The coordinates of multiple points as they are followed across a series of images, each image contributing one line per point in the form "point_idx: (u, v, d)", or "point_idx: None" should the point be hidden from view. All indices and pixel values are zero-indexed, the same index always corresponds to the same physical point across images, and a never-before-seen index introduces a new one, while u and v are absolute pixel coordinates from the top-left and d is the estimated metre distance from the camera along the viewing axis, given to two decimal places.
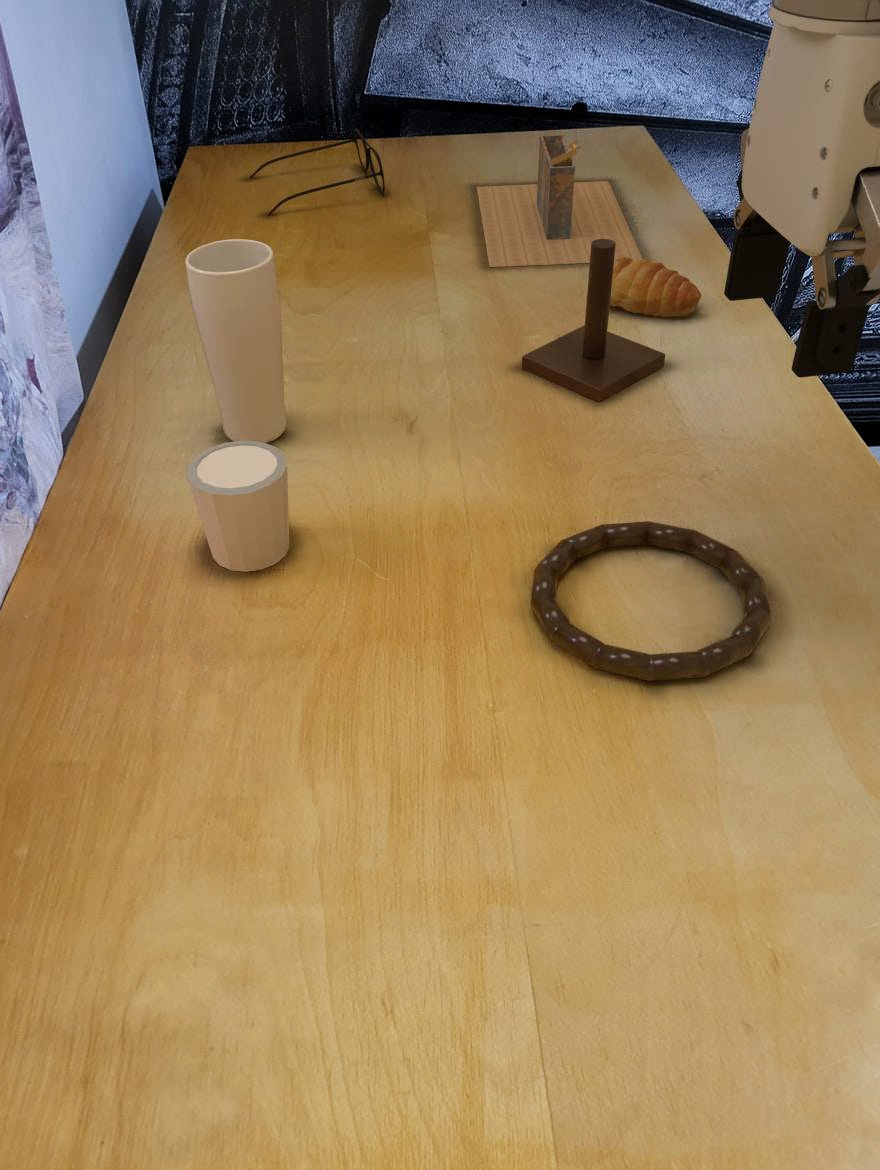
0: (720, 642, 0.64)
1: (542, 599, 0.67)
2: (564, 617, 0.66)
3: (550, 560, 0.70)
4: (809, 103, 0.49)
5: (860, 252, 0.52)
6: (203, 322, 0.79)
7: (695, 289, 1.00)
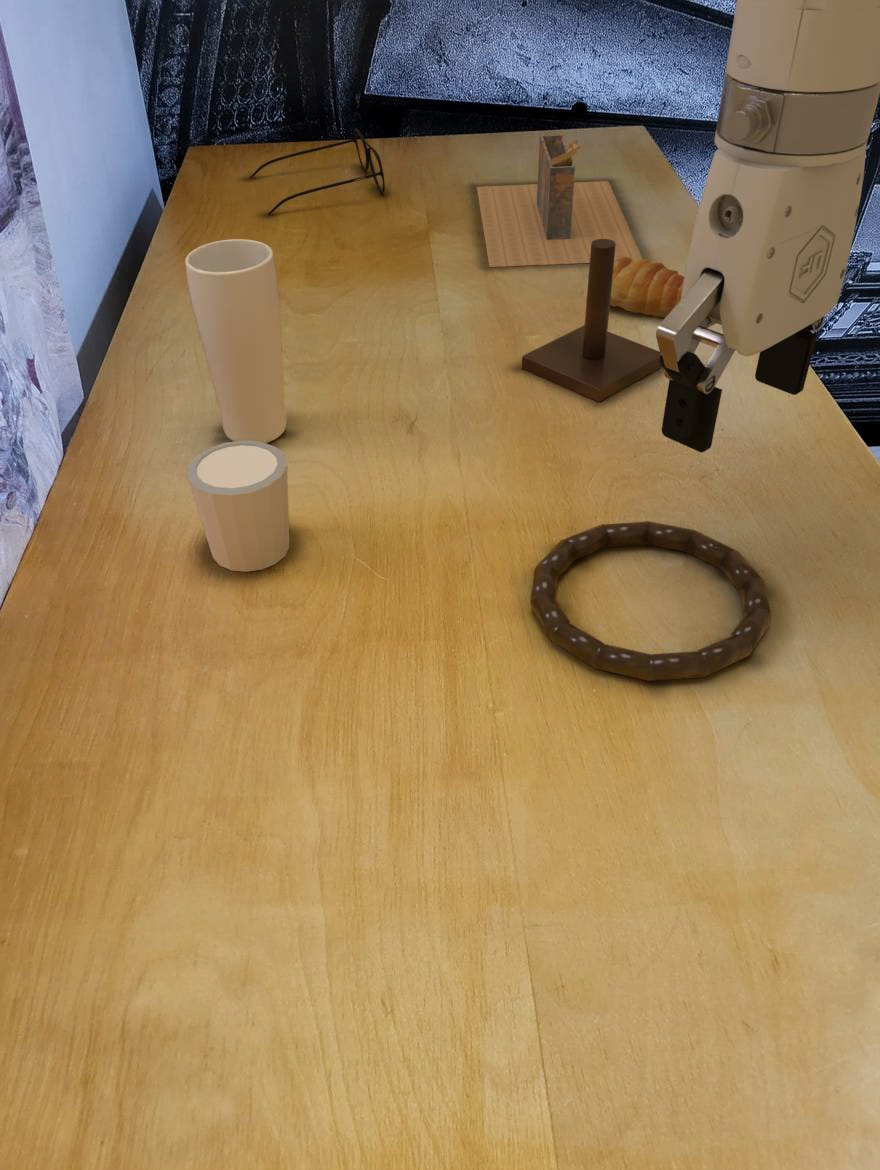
0: (720, 642, 0.64)
1: (542, 599, 0.67)
2: (564, 617, 0.66)
3: (550, 560, 0.70)
4: None
5: None
6: (203, 322, 0.79)
7: None
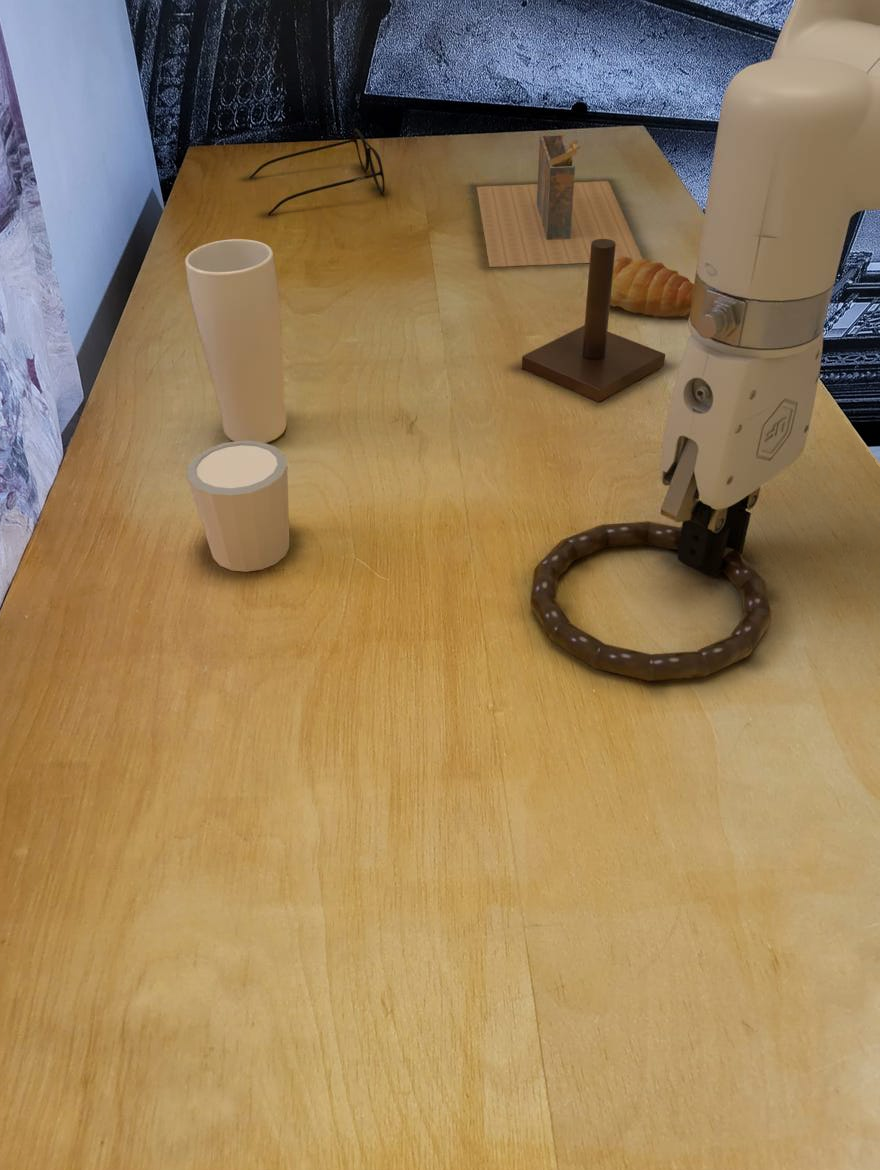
0: (720, 641, 0.64)
1: (542, 599, 0.67)
2: (564, 617, 0.66)
3: (550, 560, 0.70)
4: None
5: None
6: (203, 322, 0.79)
7: None
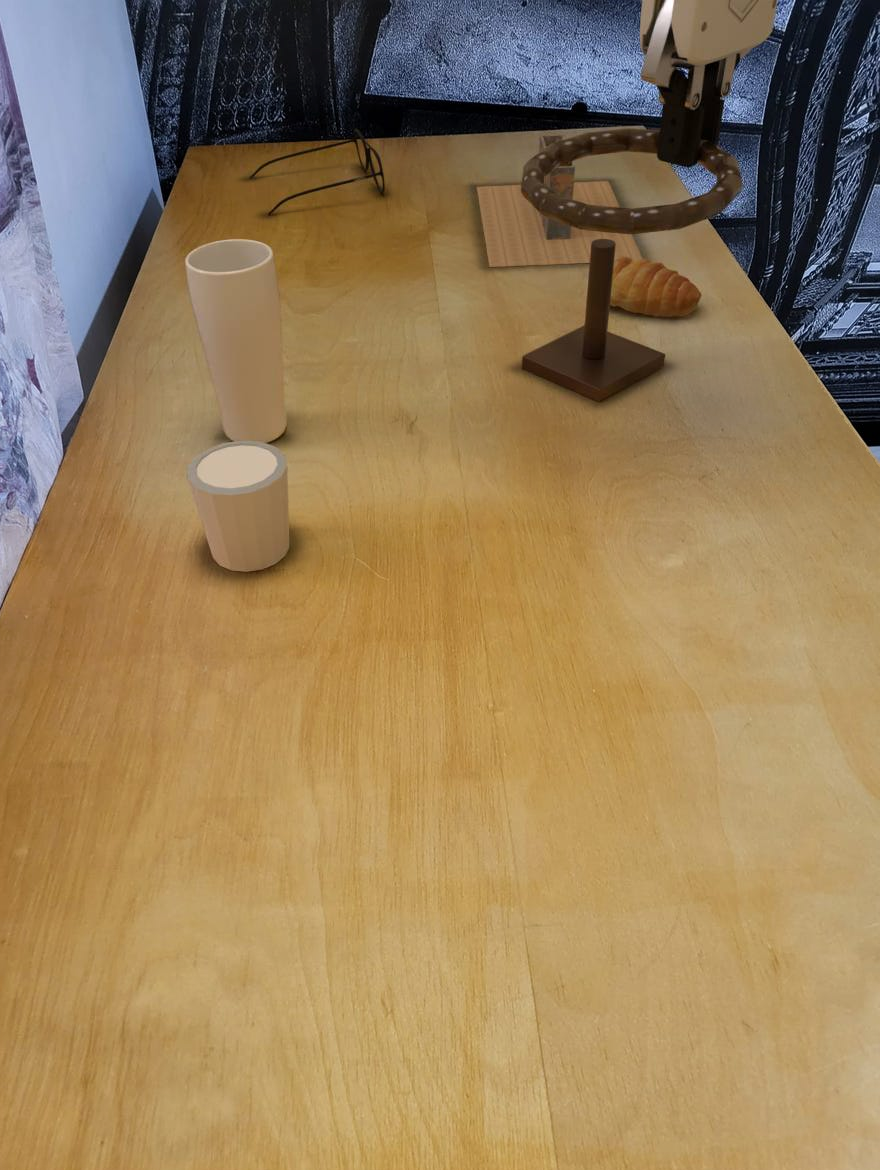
0: (695, 197, 0.69)
1: (531, 181, 0.73)
2: (552, 191, 0.72)
3: (538, 156, 0.76)
4: None
5: None
6: (203, 322, 0.79)
7: (695, 289, 1.00)
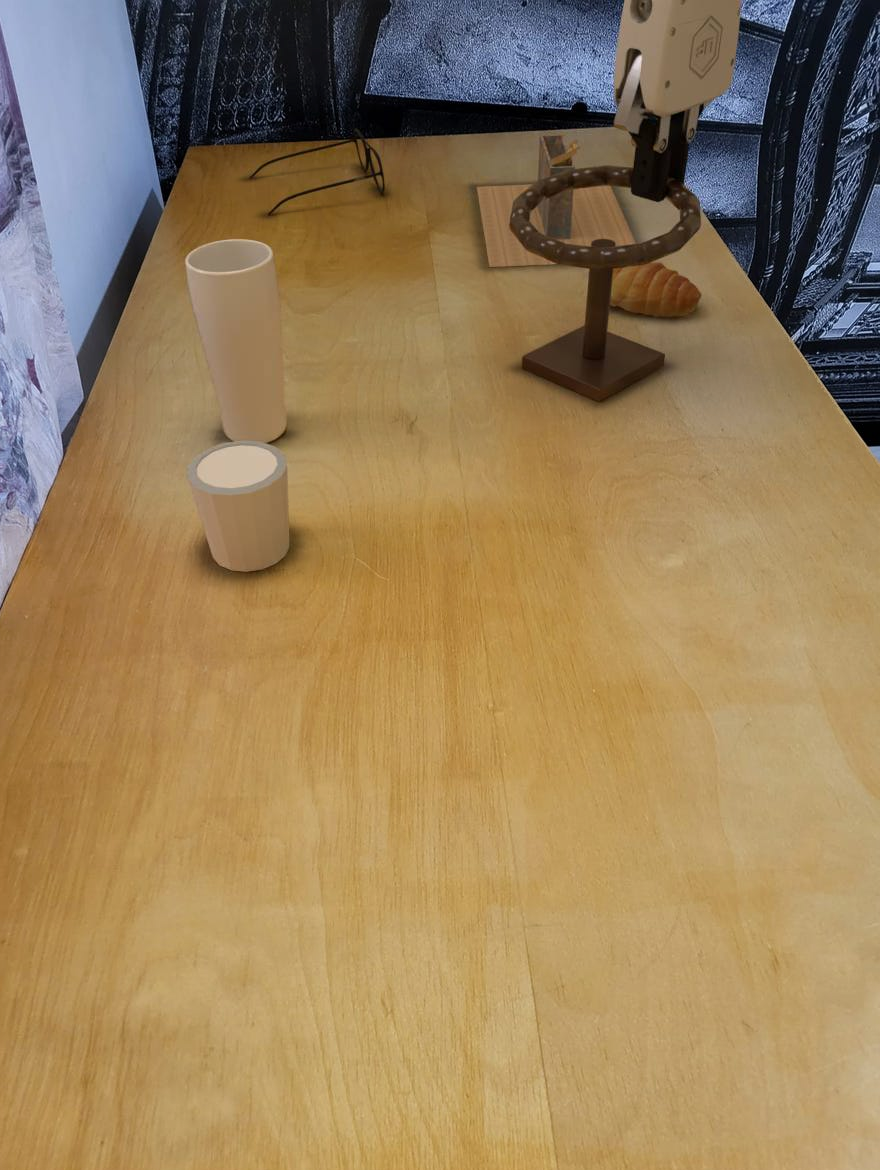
0: None
1: (518, 219, 0.84)
2: (535, 229, 0.83)
3: (525, 194, 0.87)
4: None
5: None
6: (203, 322, 0.79)
7: (695, 289, 1.00)
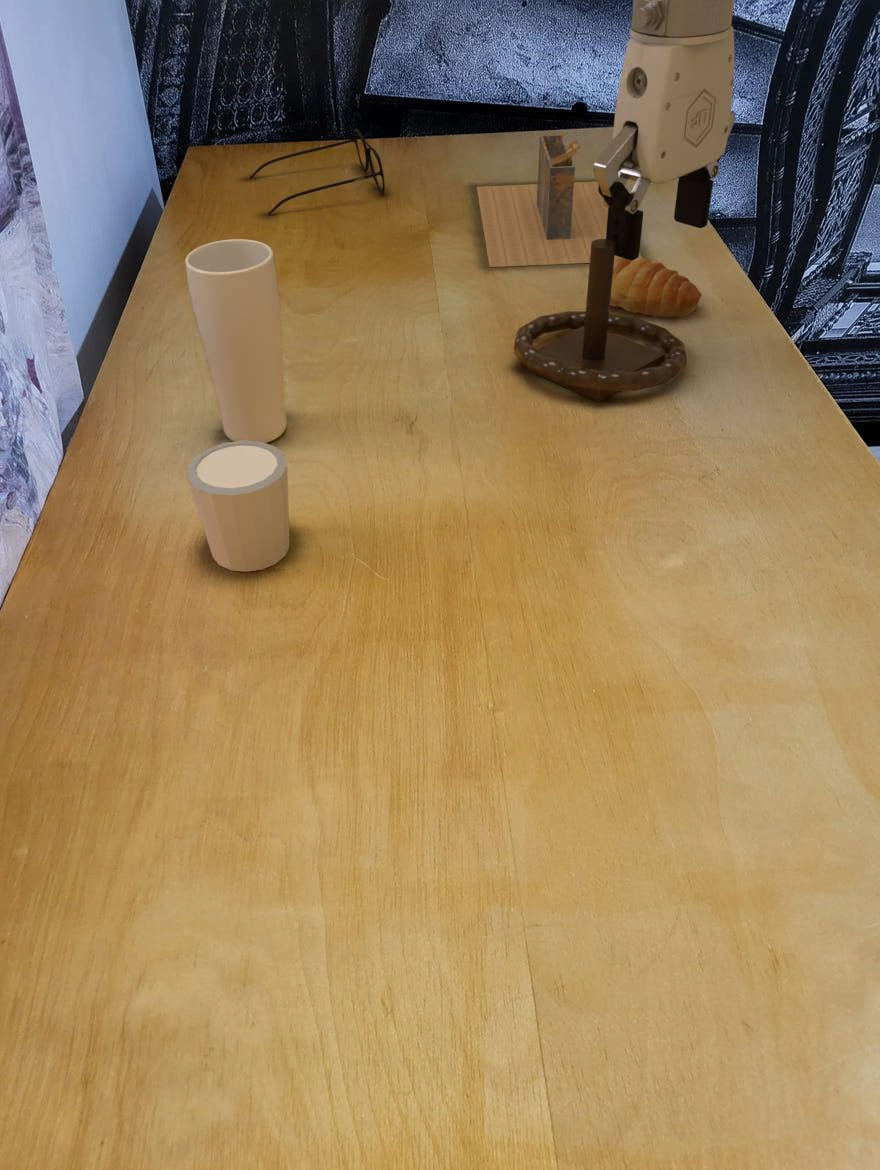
0: None
1: (522, 342, 0.92)
2: (538, 351, 0.90)
3: (529, 325, 0.95)
4: None
5: None
6: (203, 322, 0.79)
7: (695, 289, 1.00)
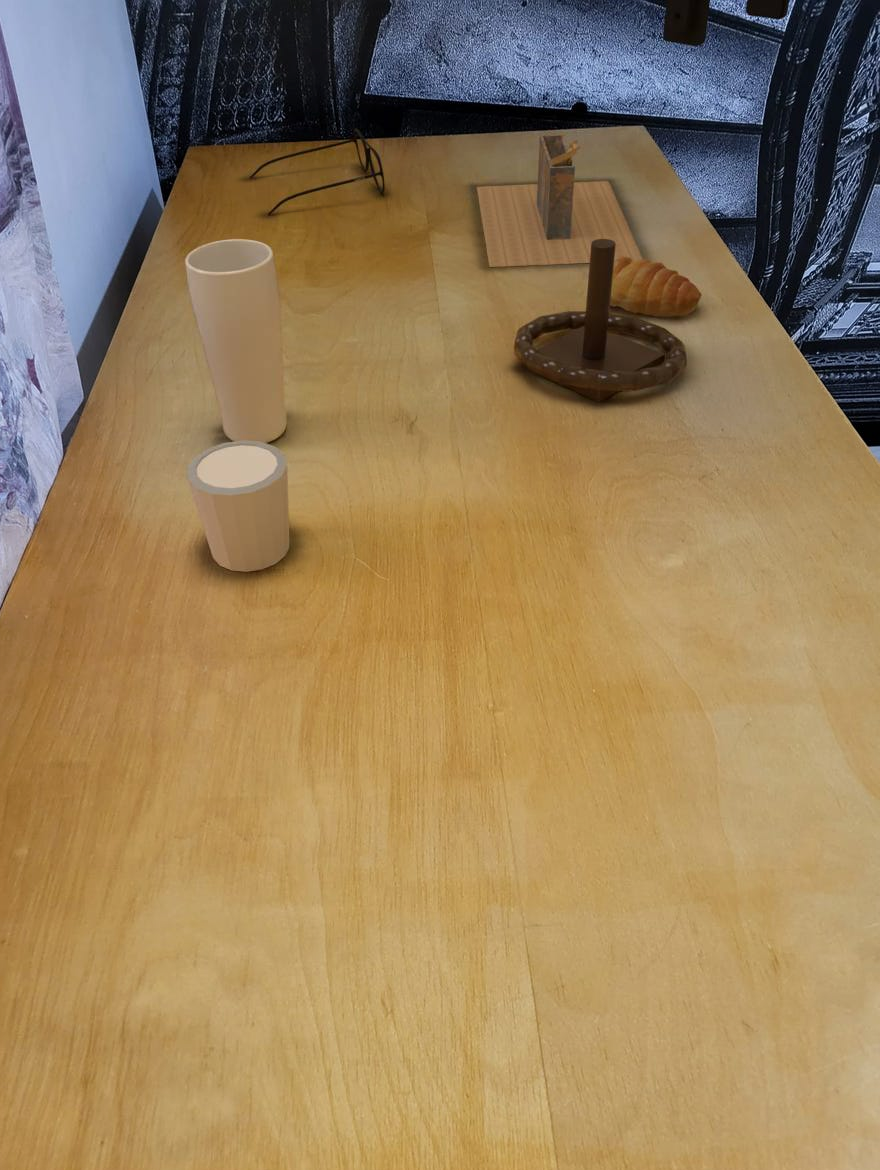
0: None
1: (522, 342, 0.92)
2: (538, 351, 0.90)
3: (529, 325, 0.95)
4: None
5: None
6: (203, 322, 0.79)
7: (695, 289, 1.00)
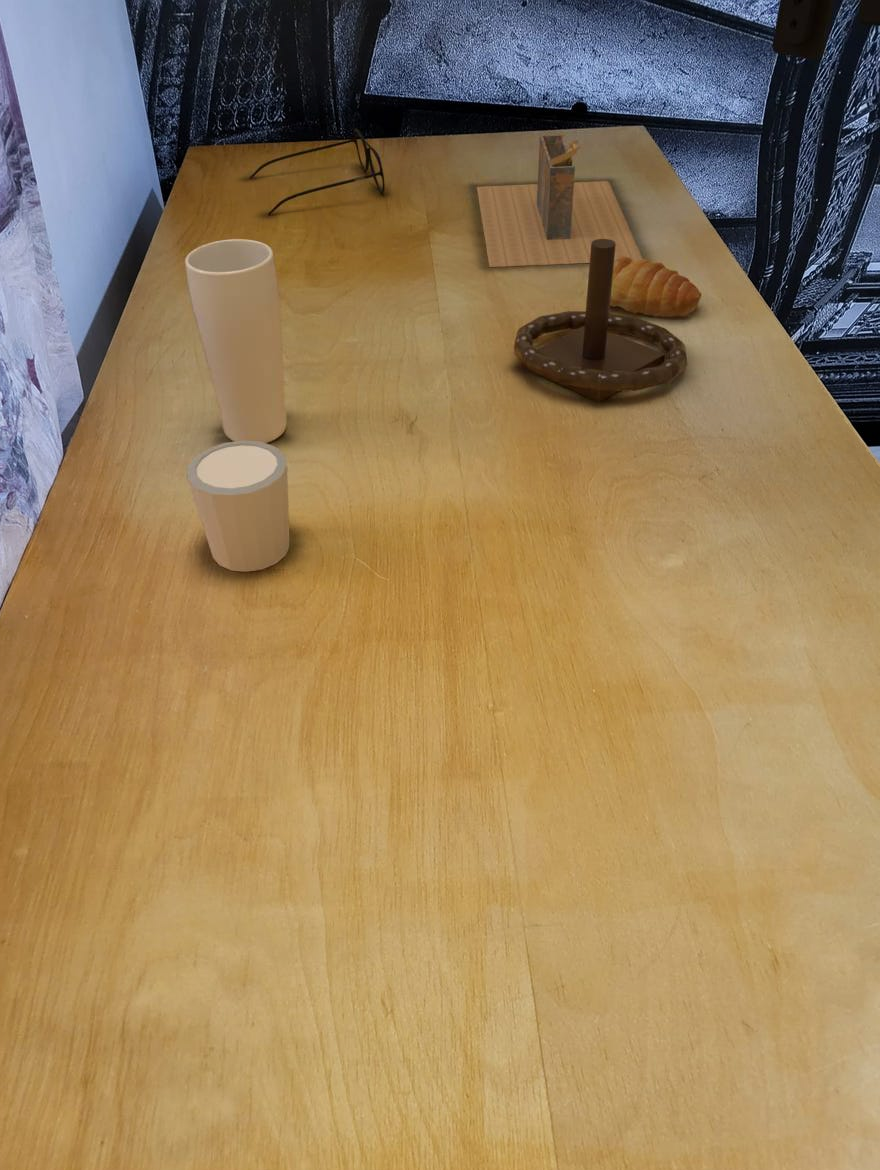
0: None
1: (522, 342, 0.92)
2: (538, 351, 0.90)
3: (529, 325, 0.95)
4: None
5: None
6: (203, 322, 0.79)
7: (695, 289, 1.00)
